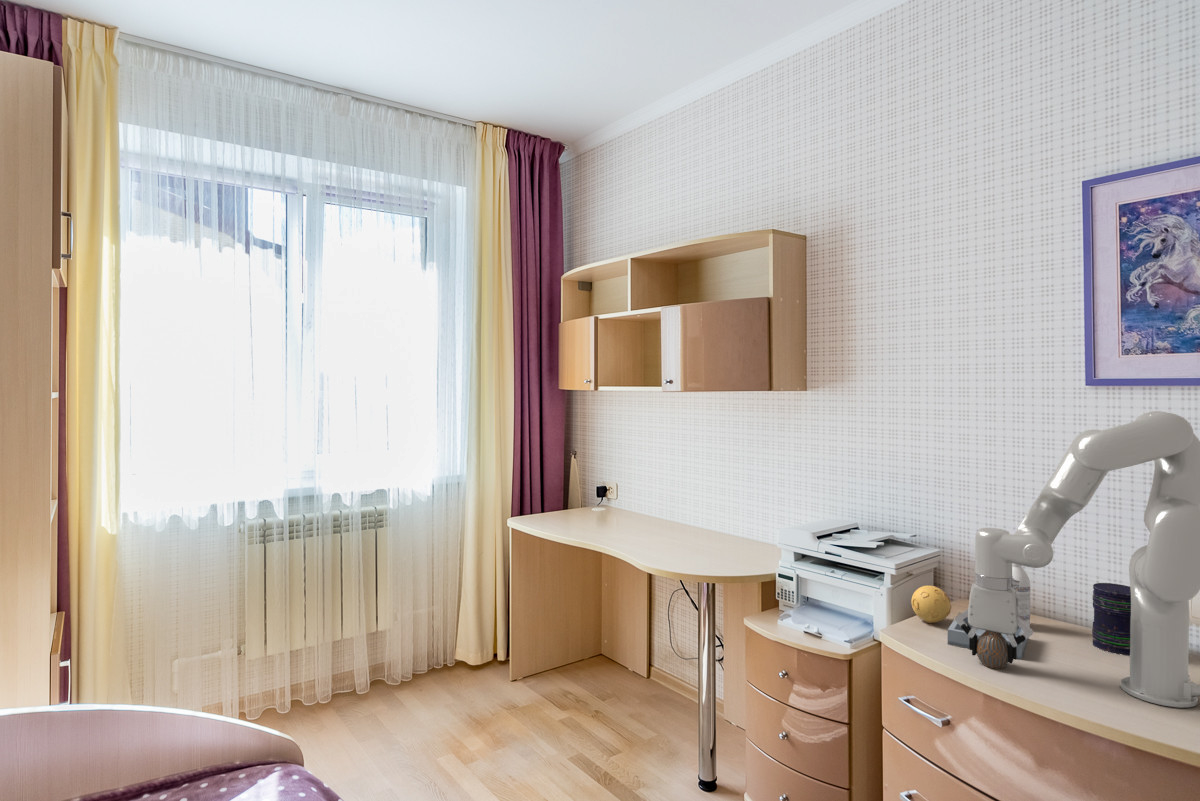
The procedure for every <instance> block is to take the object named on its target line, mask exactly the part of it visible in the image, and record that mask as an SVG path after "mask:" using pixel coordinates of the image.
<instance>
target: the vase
mask: <svg viewBox="0 0 1200 801" xmlns="http://www.w3.org/2000/svg"><path fill="white" fill-rule="evenodd" d="M1008 647H1009V644H1008V642H1007V641H1006V639H1005V638H1004V637H1003V635H1002V634H1001V633H997V632H992V631H987V630H986V631H985V632H984V633H983V634H982V635H981V636H980V637H979V639H978V641H977V644H976V652H977V654H976V656H977V658H978V660H979V661H980V662H981V663H982V665H983V666H985V667H987V668H991V669H996V670H999V669H1003V668H1005V667H1006V666H1007V665H1008V664H1009V662H1008Z"/></svg>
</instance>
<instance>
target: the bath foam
mask: <svg viewBox="0 0 1200 801" xmlns="http://www.w3.org/2000/svg"><path fill="white" fill-rule="evenodd" d="M1012 576H1013V578H1014V580H1017V581H1020V585H1019V587H1018V586H1016V587H1012V588H1013V589H1015V590H1016V592H1017V598H1018V606H1019V618H1020V619H1021V620H1022V621H1023V622H1024V623H1025V624H1027V625H1029V627H1030V628H1031V581H1030V578H1029V575H1028V573H1027V572H1026V571H1025V569H1024V568H1023V566H1022V565H1018V564H1014V563H1012Z"/></svg>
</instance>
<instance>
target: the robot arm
mask: <svg viewBox="0 0 1200 801" xmlns="http://www.w3.org/2000/svg"><path fill="white" fill-rule="evenodd" d="M1152 461H1153V462H1154V472H1153V478H1152V483H1151V488H1150V492H1149V497H1148V501H1147V504H1146V508H1145V511H1144V514H1143V522H1144V525H1145V527H1146V528H1147V530H1148V531H1149V536H1148V541H1147V545H1142V546H1141V547H1139V548H1138V549H1136V550H1135V551H1134V553H1132V555H1131V557H1130V559H1129V566H1128V574H1129V576H1128V577H1129V586H1130V589H1131V622H1130V655H1129V676H1127V677H1124V678H1121V680H1120V687H1121V689H1122V690H1123V691H1124V692H1125V693H1127V694H1129V695H1131V696H1132V697H1134V698H1137V699H1139V700H1142V701H1145V702H1149V703H1152V704H1155V705H1160V706H1164V707H1170V708H1179V709H1180V708H1181V709H1184V708H1187V709H1188V708H1192V707H1195V706H1197V705H1198V704H1199V697H1200V684H1199V683H1195V682H1194V681H1192V680H1191V678H1190V674H1189V652H1190V649H1189V648H1190V645H1189V644H1190V603H1189V601H1190V600H1192V599H1194V597H1196V596H1197V595H1198V593H1199V592H1200V440H1199V438H1198V437H1197V436H1196V434H1195V433H1194V429H1193V427H1192V424H1191V423H1190V422H1189V421H1188V420H1187V419H1186V418H1184V417H1183V416H1181V415H1179V414H1177V413H1176V414H1175V413H1173V412H1166V411H1162V410H1161V411H1160V410H1159V411H1158V410H1157V411H1156V410H1154V411H1153V410H1152V411H1148V412H1145V413H1143V414H1140V415H1139V416H1137V417H1136V419H1135V420H1134V421H1132V422H1127V423H1125V424H1121V425H1118V426H1113V427H1110V428H1105V429H1102V430H1101V429H1088V430H1085V431H1082V432H1080V433H1079V434H1078V435H1076V436H1075V438H1074V439H1073V440H1072V442H1071V444H1070V445H1069V447H1068V449H1067V450H1066V452H1065V453H1064V455H1063V456H1062V458H1061V460H1060V461H1059V463H1058V465H1057V466H1056V468H1055V470H1053V473H1052V474H1051V476H1050V478H1049V479H1048V480H1047V482H1046V484H1045V485H1044V486H1043V488H1042V490H1041V491H1040V493H1039V495H1038V496H1037V498H1036V499H1035V501H1034V502H1033V504H1032V505H1031V507H1030V508H1029V509H1028V511H1027V513H1026V514H1025V516H1024V517H1023V519H1022V521H1021V522H1020V524H1019V526H1018V527H1017V529H1016V530H1015V532H1014V534H1013V533H1011V532H1010V531H1008V530H1007V529H1002V528H996V527H982V528H979V529H978V530H976V532H975V540H974V541H975V543H974V544H975V547H974V548H975V551H974V552H975V554H974V555H975V560H974V565H975V566H974V568H975V569H974V582H972V584H971V588H970V592H969V598H968V599H969V600H968V606H967V609H965V610H964V611H962V612H959V613H960V614H959V613H958V614H959V615H958V614H957V615H956V616H955V617H954V619H955V621H956V622H957V623H958V624H959V625H960V626H961V628H962V629H963V630H964V632H965V633H966V634H967V635H968V637H969V651H971V655H972V656H977V652H976V644H977V641H978V637H977V635H976V632H977V630H978V629H982V630H987V631H992V632H997V633H1003V634H1006V635H1007V637H1008V639H1009V641H1010V644H1009V647H1008V664H1011V665H1012V664H1013V663H1014V660H1017V659H1016V658H1017V645H1019V644H1020V643H1022V642H1023V641H1025V640H1026V639H1027V638H1028V639H1029V638H1030V637H1031V636H1033V635H1034V630H1033V629H1032V628H1031V626H1030V627H1029V626H1028V625H1027V624H1025V623H1024V622H1023V621H1022V620H1021V619H1020V618H1019V606H1018V598H1017V592H1016V590H1015V589H1013V588H1012V587H1016V586H1018V587H1019V585H1020V581H1017V580H1014V578H1013V576H1012V563H1014V564H1018V565H1022V567H1027V568H1033V569H1039V568H1043V567H1046V566H1048V565H1049V564H1051V562H1052V561H1053V559H1054V548H1053V546H1052V544H1053V543H1054V541H1055V539H1056V538H1057V536H1058V535H1059V534H1060V532H1061V530H1062V528H1063V527H1064V526H1065V524H1066V523H1067V522H1068V521H1069V520H1070V519H1071V518H1072V517H1073V516H1074V515H1076V514H1078V513H1079V512H1080V511H1082V510H1084V508H1085V507H1087V505H1088V504H1089V502H1090V501H1091V500H1092V498H1093V496H1094V495H1095V493H1096V491H1097V490H1098V488H1099V487H1100V485H1101V484H1102V482H1103V480H1104V478H1106V476H1107V475H1108V473H1109V472H1112V471H1116V470H1117V471H1118V470H1121V469H1124V468H1130V467H1133V466H1136V465H1140V464H1144V463H1147V462H1148V463H1149V462H1152ZM966 617H968V624H969V625H970V626H972V628H970V627H969V626H968V625H967V624H966V623H965V621H964V620H963V619H964V618H966ZM1019 627H1020V628H1021V629H1022V630H1023V631H1024V632H1023V633H1022V634H1021V635H1019V636H1017V637H1016V635H1015V634H1016V632H1017V629H1019Z"/></svg>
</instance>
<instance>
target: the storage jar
mask: <svg viewBox="0 0 1200 801" xmlns="http://www.w3.org/2000/svg"><path fill="white" fill-rule="evenodd" d="M1092 589H1093V591H1092V607H1093V622H1092V629H1091V634H1092V643H1093V644H1092V646H1094V647H1095V648H1096V647H1097V648H1096V649H1098V648H1099V649H1098V650H1101V651H1103V650H1104V652H1106V651H1108V652H1107V653H1110V652H1111V653H1110V654H1114V653H1116V654H1115V655H1120V654H1122V655H1121V656H1130V622H1131V589H1130V585H1125V584H1119V583H1112V582H1111V583H1110V582H1096V583H1093V585H1092Z"/></svg>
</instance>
